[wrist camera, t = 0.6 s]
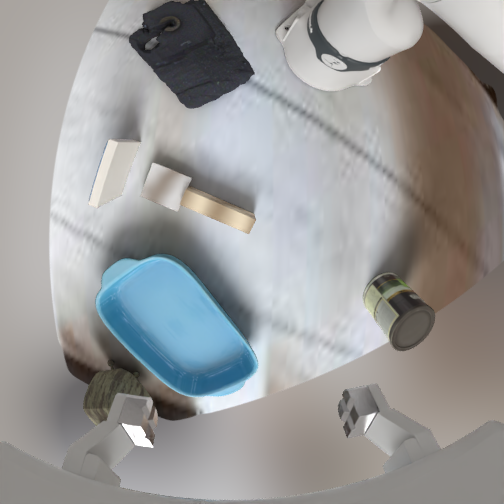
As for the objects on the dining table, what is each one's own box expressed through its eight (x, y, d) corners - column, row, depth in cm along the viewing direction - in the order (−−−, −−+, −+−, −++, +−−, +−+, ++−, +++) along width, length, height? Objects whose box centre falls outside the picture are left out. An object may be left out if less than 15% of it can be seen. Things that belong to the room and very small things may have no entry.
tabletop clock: (102, 356, 57) (68, 433, 34) (129, 351, 57) (98, 436, 34) (132, 392, 63) (111, 467, 39) (159, 389, 62) (142, 470, 39)
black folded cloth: (181, 122, 41) (175, 120, 36) (126, 36, 33) (116, 27, 28) (261, 78, 39) (264, 70, 34) (199, -6, 31) (197, -18, 26)
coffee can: (385, 263, 52) (422, 296, 39) (408, 287, 55) (442, 320, 42) (353, 299, 55) (381, 339, 42) (378, 319, 58) (406, 357, 45)
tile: (113, 191, 43) (86, 203, 34) (131, 138, 40) (107, 138, 31) (121, 195, 44) (96, 208, 35) (141, 142, 41) (118, 142, 31)
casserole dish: (90, 278, 50) (75, 295, 43) (167, 218, 46) (157, 231, 40) (195, 386, 62) (192, 408, 56) (272, 353, 59) (276, 375, 53)
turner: (258, 205, 46) (260, 210, 43) (243, 235, 48) (244, 243, 45) (156, 161, 42) (149, 163, 39) (144, 193, 44) (137, 198, 40)
